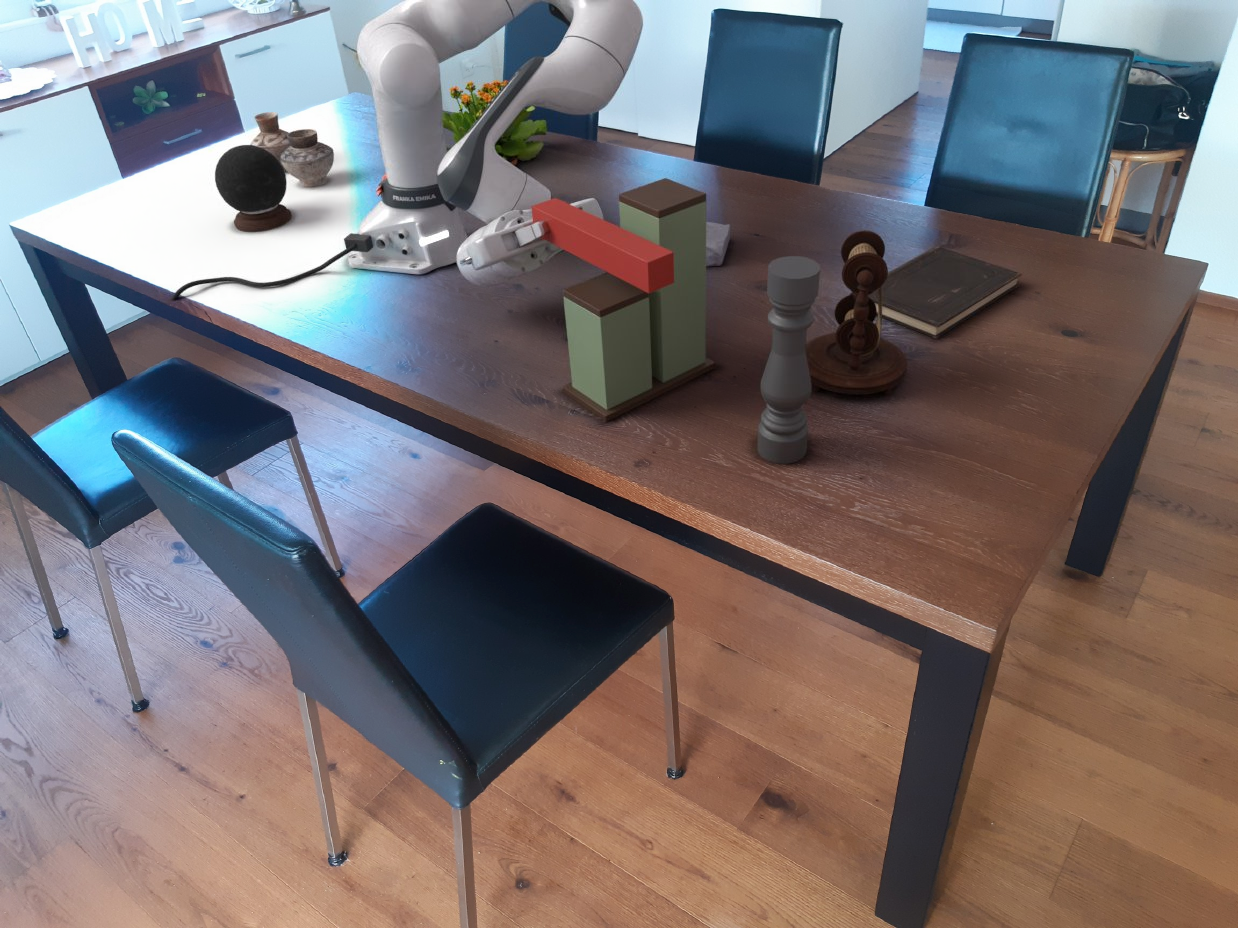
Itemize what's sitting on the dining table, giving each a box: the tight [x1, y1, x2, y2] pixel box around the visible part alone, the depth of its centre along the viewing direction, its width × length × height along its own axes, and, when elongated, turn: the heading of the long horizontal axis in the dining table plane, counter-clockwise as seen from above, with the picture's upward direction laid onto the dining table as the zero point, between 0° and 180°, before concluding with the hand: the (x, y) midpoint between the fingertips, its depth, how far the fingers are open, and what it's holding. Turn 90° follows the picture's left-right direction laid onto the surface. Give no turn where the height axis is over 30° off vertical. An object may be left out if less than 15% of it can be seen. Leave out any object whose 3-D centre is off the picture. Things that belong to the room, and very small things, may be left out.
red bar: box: [531, 197, 674, 293], centre depth 115 cm, size 24×4×4 cm, turn 39°
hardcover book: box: [849, 245, 1023, 340], centre depth 145 cm, size 16×23×2 cm
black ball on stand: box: [214, 144, 293, 233], centre depth 181 cm, size 13×13×15 cm
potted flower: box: [443, 79, 548, 166], centre depth 198 cm, size 25×24×18 cm
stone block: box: [706, 221, 731, 267], centre depth 162 cm, size 12×5×10 cm
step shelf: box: [562, 177, 716, 423], centre depth 122 cm, size 10×20×26 cm, turn 128°
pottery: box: [250, 111, 335, 188], centre depth 202 cm, size 11×25×12 cm, turn 47°
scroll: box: [805, 230, 908, 396], centre depth 122 cm, size 15×15×20 cm
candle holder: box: [756, 255, 821, 465], centre depth 108 cm, size 6×6×25 cm
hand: (561, 221), depth 120 cm, fingers closed on red bar, 4 cm apart
